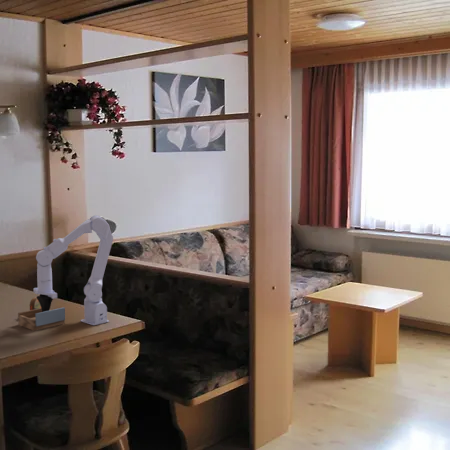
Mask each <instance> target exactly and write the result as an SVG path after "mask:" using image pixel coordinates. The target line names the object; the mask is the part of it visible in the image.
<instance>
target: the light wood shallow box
mask: <svg viewBox="0 0 450 450" xmlns="http://www.w3.org/2000/svg"><path fill="white" fill-rule="evenodd" d="M40 312H42V309H41V308H39V309H34V310H30V309H29V310H26V311H21V312H18V313H17V319H18V323H17V324H18V326H20V327H24V328H26V329H27V330H28V329H29V330H31V331H33V332H34V331H39V330H43V329H48V328H52V327H56V326H60V325H64V324H65V323H66V321H65V320H66V319H65V320H63V321H59V322H55V323H50V324H46V325H42V326H37V327H36V319H35V313H40Z"/></svg>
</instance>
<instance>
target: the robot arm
mask: <svg viewBox="0 0 450 450" xmlns="http://www.w3.org/2000/svg"><path fill="white" fill-rule="evenodd" d="M93 232H95V233H96V235H97V237H98V238H99V245H98V248H97V252H96V255H95V260H94V263H93V267H92V270H91V274H90V277H89V278H88V281H87V283H86V285H85V286H84V287H83V294H84V295H85V298H84V299H83V301H84V302H83V305H84V306H83V308H84V309H83V310H84V319H80V322H81V323H84V324H88V325H91V326H97V325H102V324H105V323H108V322H110V320H109V319H108V307H107V305H106V304H105V303H104V302H103V292H102V289H103V278H104V276H105V275H104V274H105V270H106V266H107V264H108V259H109V256H110V252H111V249H112V245H113V241H114V236H113V234H112V231H111V228H110V224H109V223H108V222H107V220H106V219H105V218H103V217H102V216H100V215H96V214H95V215H93V216H90V218H87V219H86V220H85V221H83V222H81V223H80V224H79V225H77V227H76V228H74V229H73V230H72V231H71V232H69V233H68V234H67V235H66V236H64V237H62V238H61V237H58V238H54V239H52V242H51V243H50V244H48V245H46V246H44V247H42V248H43V249H42V250H39V251H38V252H37V253H36V256H35V259H36V262H37V265H36V268H37V269H36V272H37V273H36V276H37V278H36V281H37V287H34V288H33V293H34V294H36V295H37V296H36V297H37V299H38V301H39V303H40V305H41V309H42V312H45V311H49V310H51V308H50V305H51V306H52V302H53V300H54V299H58V293H57V292H55V290H53V272H52V271H53V269H52V262H53V259H54V260H55V259H56V258H58V257H59V256H60V255H62V254H63V253H65V251H67V250H68V247H69V245H70V244H71V243H73V242H74V241H75V240H77V239H78V238H80V237H81V236H82V235H84V234H93ZM38 295H39V296H38Z"/></svg>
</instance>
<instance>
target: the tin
mask: <svg viewBox="0 0 450 450" xmlns="http://www.w3.org/2000/svg"><path fill="white" fill-rule="evenodd" d="M39 295H40V294H37V296H39ZM37 296H35V297H32V299H31V300H30V302H29V311H30V310H34V309H39V308H41V305H40V303H39V301H38V299H37ZM51 307H52V304H51V305H50V309H51Z"/></svg>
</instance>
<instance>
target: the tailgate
mask: <svg viewBox="0 0 450 450" xmlns="http://www.w3.org/2000/svg"><path fill="white" fill-rule="evenodd" d="M35 319H36V327H37V326H42V325H46V324H50V323H55V322H59V321H63V320H66V307H64V306H63V307H60V308H59V307H58V308H54V309H50V310H49V311H45V312H40V313H35Z"/></svg>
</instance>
